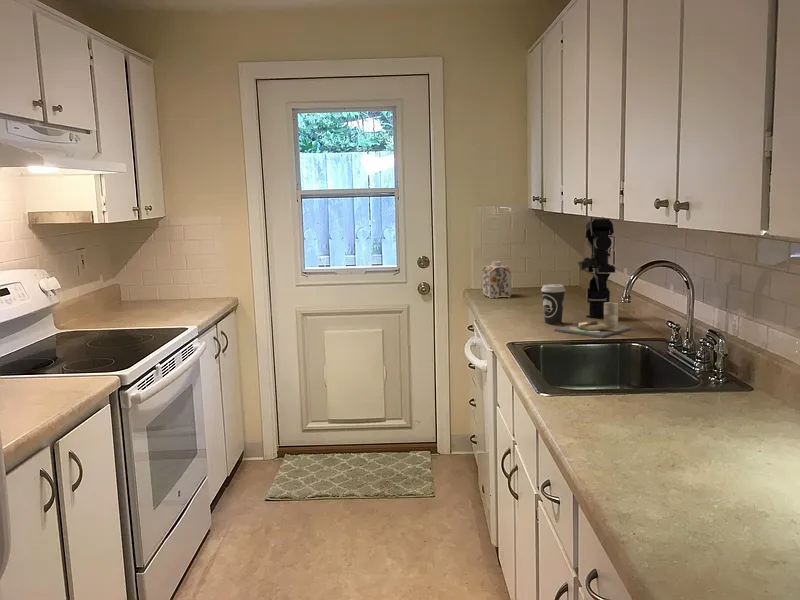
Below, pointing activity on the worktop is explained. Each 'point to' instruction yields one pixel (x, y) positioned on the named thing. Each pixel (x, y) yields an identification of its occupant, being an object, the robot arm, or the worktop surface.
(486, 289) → the decorative jar
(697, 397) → the worktop surface
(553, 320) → the coffee cup
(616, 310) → the beige boot
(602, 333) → the board
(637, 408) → the worktop surface
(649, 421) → the worktop surface
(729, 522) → the worktop surface
